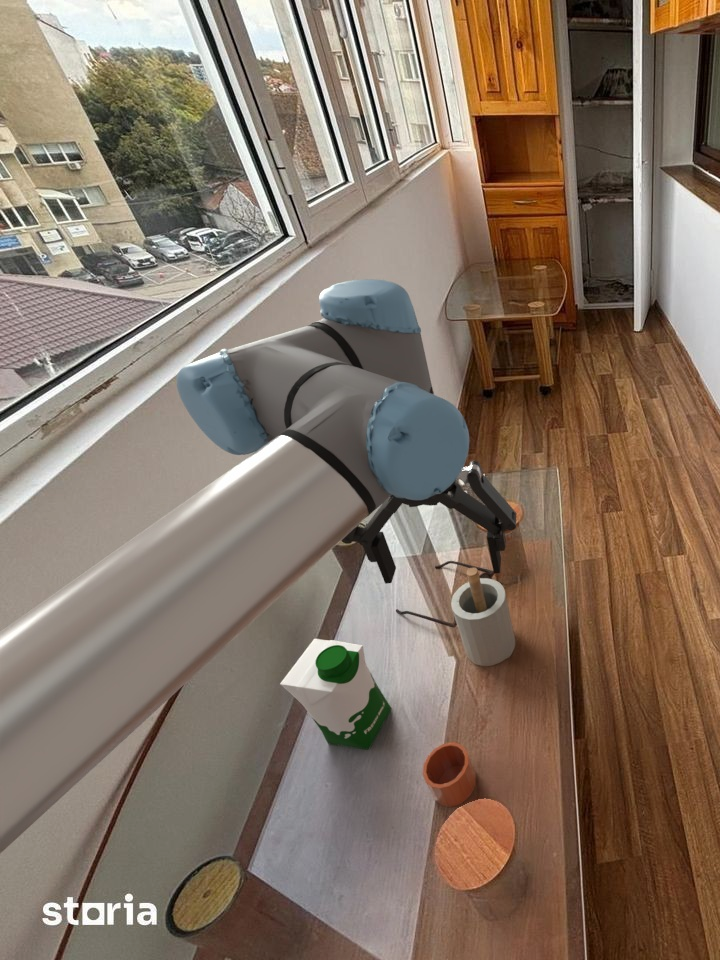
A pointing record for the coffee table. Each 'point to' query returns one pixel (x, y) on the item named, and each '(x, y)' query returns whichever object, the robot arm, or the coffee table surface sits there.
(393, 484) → the robot arm
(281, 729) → the coffee table surface
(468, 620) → the cup
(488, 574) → the eyeglasses
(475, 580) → the brush
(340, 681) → the milk carton
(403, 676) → the coffee table surface
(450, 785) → the holder
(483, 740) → the coffee table surface
